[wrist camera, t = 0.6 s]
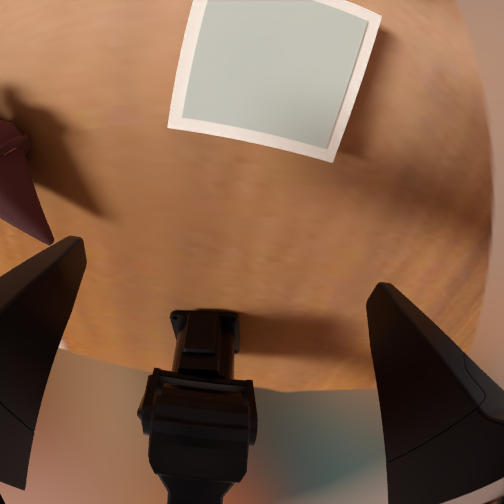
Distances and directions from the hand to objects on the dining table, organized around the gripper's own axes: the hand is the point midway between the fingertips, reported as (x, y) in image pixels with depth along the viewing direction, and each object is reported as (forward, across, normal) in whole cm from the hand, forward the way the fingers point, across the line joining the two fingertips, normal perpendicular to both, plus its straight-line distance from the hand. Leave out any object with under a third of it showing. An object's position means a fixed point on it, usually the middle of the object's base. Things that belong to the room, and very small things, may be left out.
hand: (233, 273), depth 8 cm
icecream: (+12, +18, +2) cm, 21 cm away
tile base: (+12, -1, -6) cm, 13 cm away
